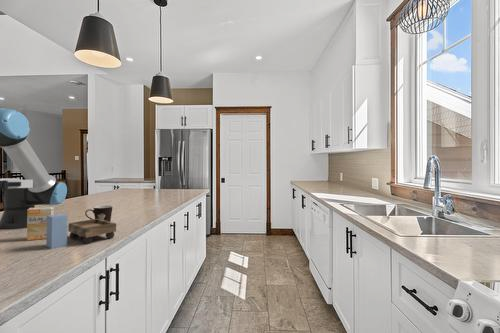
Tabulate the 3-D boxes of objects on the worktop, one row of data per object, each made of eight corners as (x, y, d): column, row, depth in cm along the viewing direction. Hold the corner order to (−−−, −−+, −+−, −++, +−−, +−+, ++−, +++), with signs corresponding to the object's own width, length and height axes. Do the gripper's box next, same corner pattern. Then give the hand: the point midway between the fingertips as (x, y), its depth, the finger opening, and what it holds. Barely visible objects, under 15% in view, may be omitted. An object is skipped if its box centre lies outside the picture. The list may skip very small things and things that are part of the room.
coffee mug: (115, 224, 136) (116, 205, 136) (105, 228, 128) (105, 208, 127) (95, 223, 137) (95, 204, 137) (83, 227, 129) (83, 207, 129)
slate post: (46, 246, 99) (46, 215, 99) (61, 243, 103) (61, 213, 103) (51, 248, 96) (52, 217, 96) (66, 245, 100) (67, 215, 100)
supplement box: (26, 241, 105) (26, 209, 105) (29, 238, 109) (30, 207, 109) (51, 238, 109) (51, 208, 109) (53, 235, 113) (54, 206, 113)
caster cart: (68, 238, 110) (68, 223, 110) (97, 232, 120) (97, 218, 120) (85, 245, 101) (86, 228, 101) (115, 238, 111) (116, 223, 111)
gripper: (-75, 195, 81) (13, 190, 98) (-63, 202, 67) (38, 195, 85) (-75, 171, 81) (14, 171, 98) (-62, 173, 67) (38, 173, 85)
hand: (25, 182), depth 92 cm, fingers open, 13 cm apart
